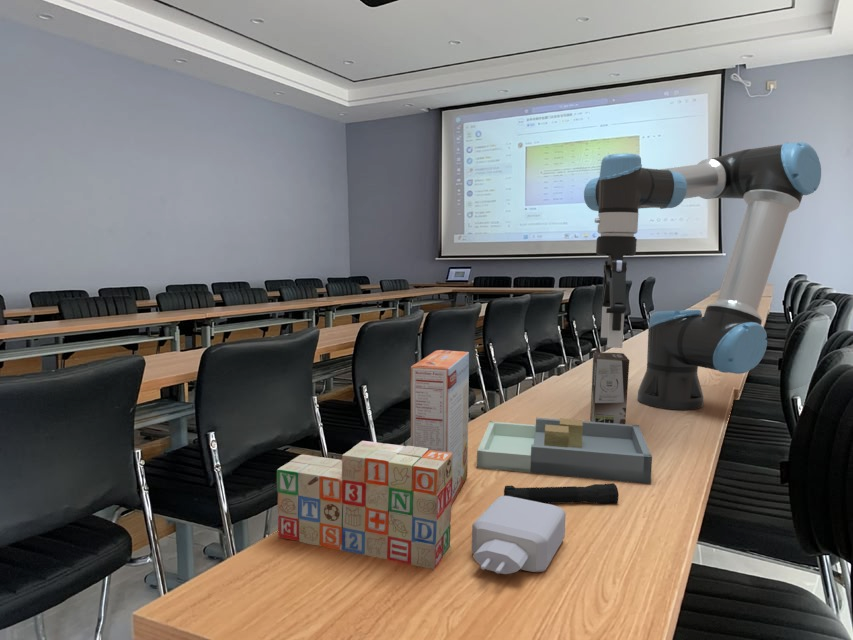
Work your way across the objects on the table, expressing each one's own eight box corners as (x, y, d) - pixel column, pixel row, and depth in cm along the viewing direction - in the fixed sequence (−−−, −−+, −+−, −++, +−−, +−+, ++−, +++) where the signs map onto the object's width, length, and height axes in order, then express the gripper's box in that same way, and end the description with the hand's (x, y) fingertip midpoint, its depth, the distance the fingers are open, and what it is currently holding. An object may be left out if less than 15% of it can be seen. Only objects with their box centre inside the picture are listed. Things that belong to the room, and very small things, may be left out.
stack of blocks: (276, 539, 77) (275, 445, 76) (302, 519, 83) (301, 431, 82) (436, 570, 71) (438, 467, 69) (451, 546, 76) (453, 451, 75)
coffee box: (625, 441, 120) (630, 360, 118) (591, 438, 121) (595, 358, 119) (620, 427, 129) (624, 352, 127) (589, 425, 130) (592, 351, 128)
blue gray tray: (637, 448, 115) (638, 425, 115) (650, 484, 98) (652, 457, 97) (535, 439, 120) (536, 417, 119) (530, 472, 102) (531, 446, 101)
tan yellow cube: (567, 448, 109) (568, 426, 108) (567, 455, 105) (568, 432, 104) (544, 446, 109) (545, 424, 109) (543, 453, 106) (544, 430, 105)
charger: (450, 580, 69) (496, 527, 82) (530, 602, 65) (564, 542, 78) (451, 540, 68) (497, 493, 81) (531, 560, 64) (566, 507, 77)
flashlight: (618, 507, 89) (619, 487, 89) (507, 510, 88) (508, 490, 88) (610, 499, 92) (611, 480, 92) (503, 501, 91) (503, 482, 91)
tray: (535, 439, 120) (536, 425, 119) (530, 472, 102) (530, 455, 101) (489, 436, 121) (490, 421, 121) (476, 467, 104) (477, 450, 103)
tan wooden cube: (581, 440, 113) (582, 419, 112) (581, 447, 109) (582, 425, 109) (559, 439, 114) (560, 418, 113) (558, 445, 110) (559, 424, 109)
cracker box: (432, 473, 101) (435, 348, 98) (468, 478, 99) (471, 350, 97) (407, 507, 87) (409, 363, 85) (448, 513, 86) (451, 366, 83)
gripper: (592, 236, 133) (587, 333, 135) (602, 233, 108) (596, 351, 111) (628, 237, 131) (622, 334, 134) (647, 233, 107) (639, 353, 109)
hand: (610, 342), depth 122 cm, fingers open, 13 cm apart
